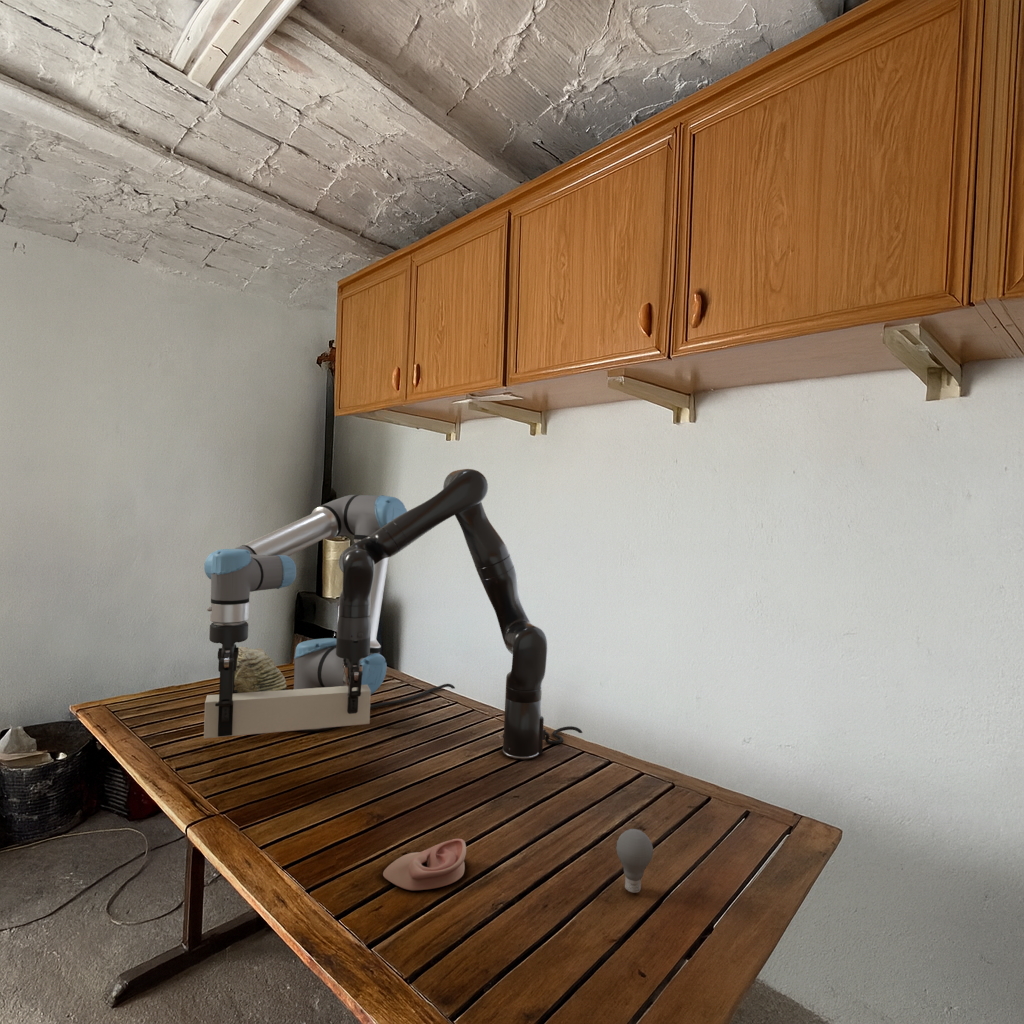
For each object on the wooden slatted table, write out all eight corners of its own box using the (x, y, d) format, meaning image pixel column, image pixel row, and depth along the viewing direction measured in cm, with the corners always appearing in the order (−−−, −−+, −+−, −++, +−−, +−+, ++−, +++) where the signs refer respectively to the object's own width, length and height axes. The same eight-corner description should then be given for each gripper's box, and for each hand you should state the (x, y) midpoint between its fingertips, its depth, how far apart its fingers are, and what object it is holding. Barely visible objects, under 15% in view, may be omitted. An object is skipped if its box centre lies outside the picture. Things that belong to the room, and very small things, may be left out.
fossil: (218, 695, 195) (220, 647, 195) (278, 685, 208) (279, 640, 207) (228, 703, 189) (230, 653, 188) (289, 692, 201) (290, 645, 201)
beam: (203, 738, 131) (204, 702, 131) (205, 730, 136) (207, 695, 136) (369, 723, 144) (370, 690, 144) (366, 716, 148) (367, 684, 148)
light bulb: (610, 879, 108) (613, 822, 108) (644, 879, 109) (647, 822, 109) (619, 902, 102) (622, 840, 102) (655, 901, 103) (658, 840, 103)
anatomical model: (376, 860, 104) (402, 826, 115) (375, 884, 104) (401, 847, 115) (453, 873, 101) (472, 837, 113) (452, 898, 101) (471, 859, 113)
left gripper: (213, 614, 142) (209, 717, 142) (206, 631, 125) (202, 748, 125) (249, 613, 144) (246, 714, 145) (247, 630, 128) (243, 744, 128)
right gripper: (333, 629, 150) (330, 700, 150) (340, 642, 136) (337, 721, 137) (365, 627, 152) (363, 698, 153) (375, 641, 139) (372, 718, 139)
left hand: (225, 730), depth 135 cm, fingers closed on beam, 5 cm apart
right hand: (350, 708), depth 145 cm, fingers closed on beam, 5 cm apart
